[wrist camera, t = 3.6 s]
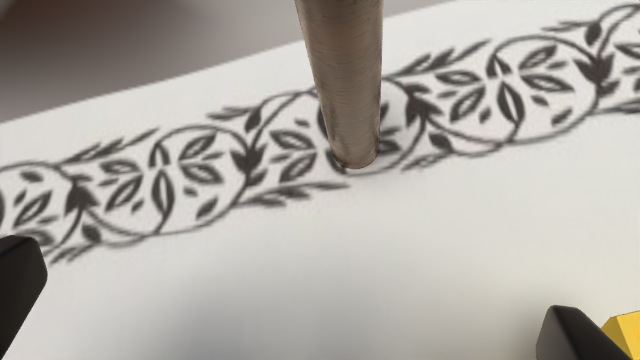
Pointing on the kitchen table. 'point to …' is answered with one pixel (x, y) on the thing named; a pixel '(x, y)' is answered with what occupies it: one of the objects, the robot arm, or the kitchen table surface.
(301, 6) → the stirring stick
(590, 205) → the kitchen table surface
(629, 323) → the teapot
